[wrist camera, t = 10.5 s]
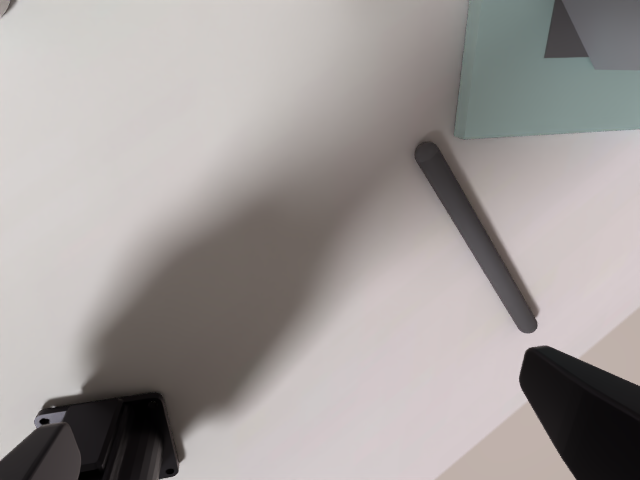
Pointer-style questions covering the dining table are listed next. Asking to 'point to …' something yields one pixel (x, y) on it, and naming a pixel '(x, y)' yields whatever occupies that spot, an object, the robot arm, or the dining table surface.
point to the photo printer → (3, 6)
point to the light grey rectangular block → (608, 31)
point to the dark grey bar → (474, 234)
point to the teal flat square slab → (536, 76)
